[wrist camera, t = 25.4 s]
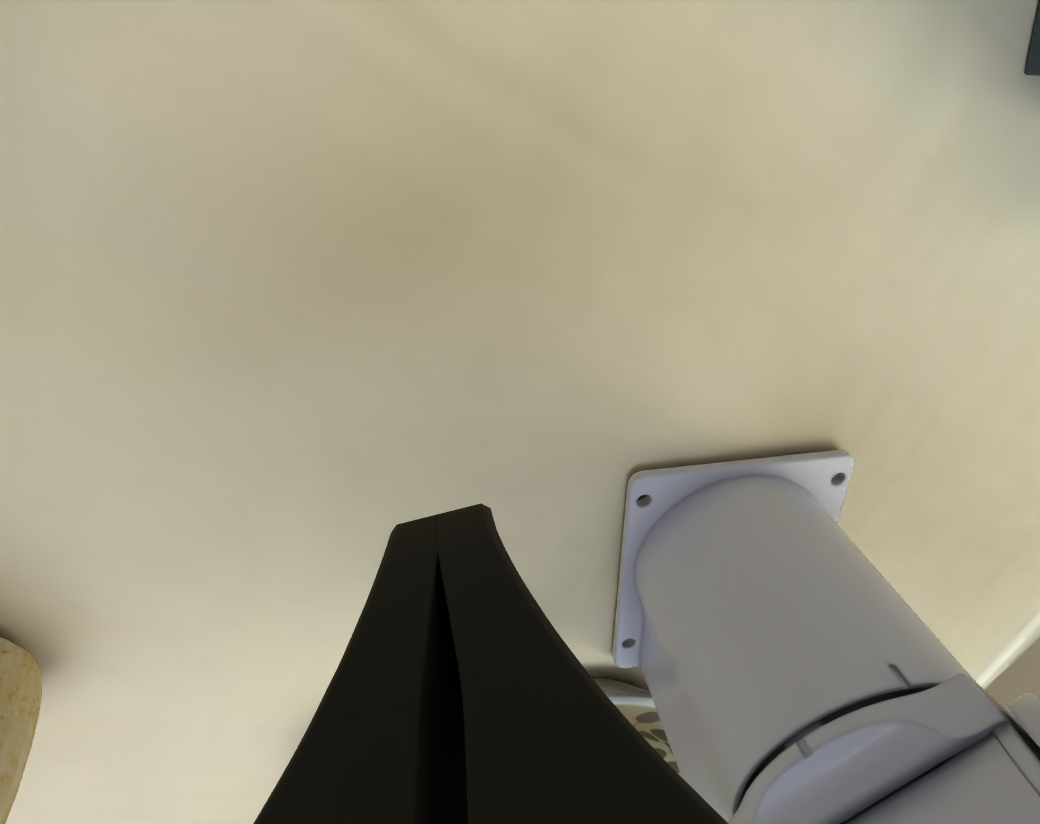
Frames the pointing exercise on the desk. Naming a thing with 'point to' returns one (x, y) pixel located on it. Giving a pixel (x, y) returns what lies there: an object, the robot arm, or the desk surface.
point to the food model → (16, 717)
